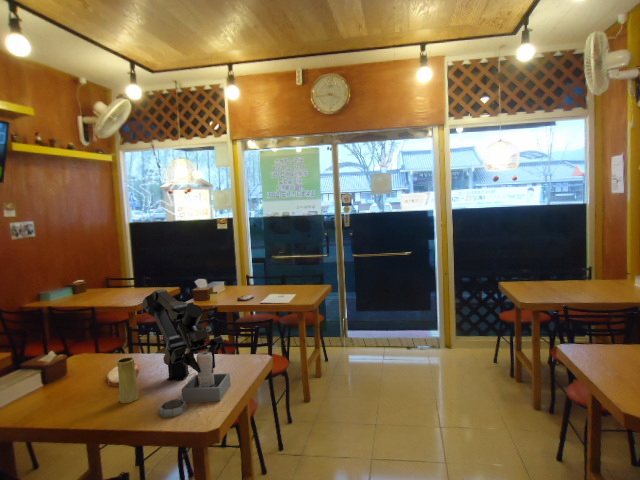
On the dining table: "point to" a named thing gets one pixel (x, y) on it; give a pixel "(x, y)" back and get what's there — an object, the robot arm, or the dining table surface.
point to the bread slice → (114, 377)
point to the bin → (206, 389)
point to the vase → (127, 380)
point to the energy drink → (205, 370)
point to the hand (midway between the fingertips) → (207, 369)
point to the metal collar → (172, 412)
